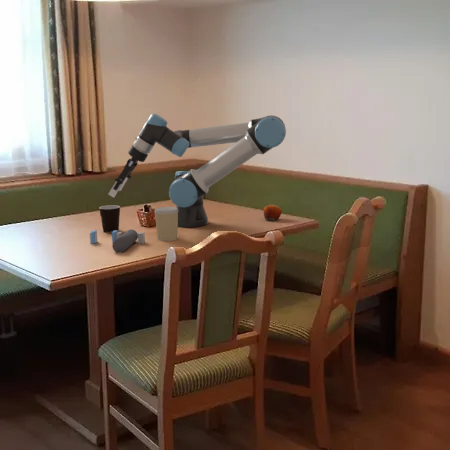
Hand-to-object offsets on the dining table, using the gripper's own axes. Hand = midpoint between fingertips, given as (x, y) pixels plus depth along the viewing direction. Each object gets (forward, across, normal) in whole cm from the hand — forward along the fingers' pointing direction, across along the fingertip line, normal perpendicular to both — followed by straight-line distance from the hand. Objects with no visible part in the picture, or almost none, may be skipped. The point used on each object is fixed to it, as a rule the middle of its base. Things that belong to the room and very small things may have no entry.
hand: (114, 192), depth 275 cm
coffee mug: (+15, -2, +7) cm, 17 cm away
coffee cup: (0, +16, +28) cm, 32 cm away
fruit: (-22, -17, +64) cm, 70 cm away
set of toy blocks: (+10, +22, +12) cm, 27 cm away
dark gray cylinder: (+8, +28, +16) cm, 33 cm away
